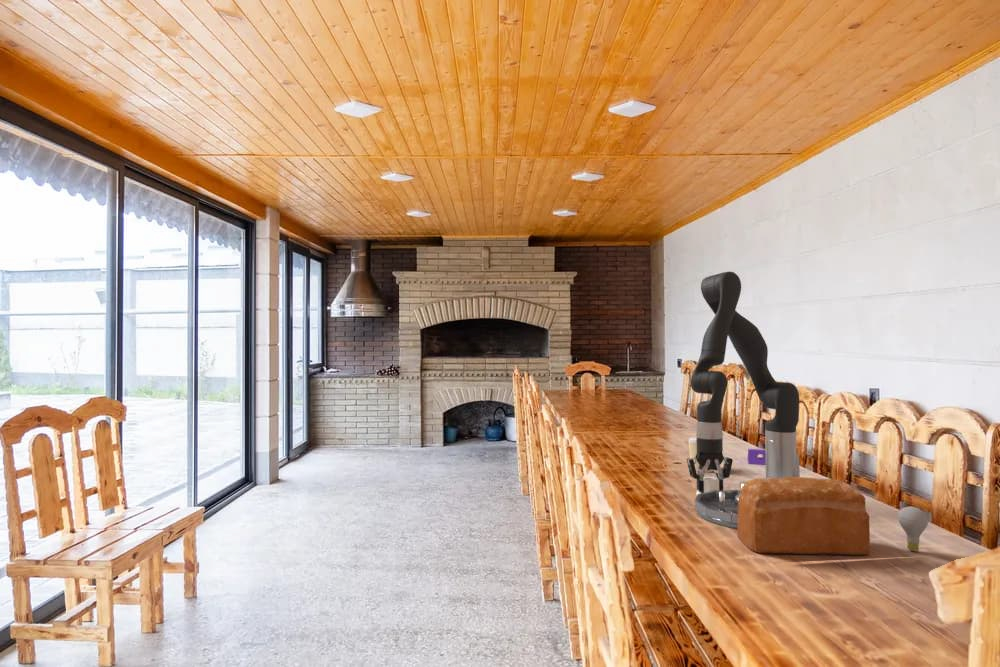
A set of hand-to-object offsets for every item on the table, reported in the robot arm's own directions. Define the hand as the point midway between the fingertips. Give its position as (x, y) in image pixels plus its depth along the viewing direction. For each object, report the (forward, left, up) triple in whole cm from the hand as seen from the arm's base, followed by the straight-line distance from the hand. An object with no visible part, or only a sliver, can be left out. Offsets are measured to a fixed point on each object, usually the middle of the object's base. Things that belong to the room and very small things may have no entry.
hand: (709, 491), depth 175 cm
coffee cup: (-12, -32, -2) cm, 34 cm away
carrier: (-2, +19, -2) cm, 19 cm away
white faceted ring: (0, 0, -2) cm, 2 cm away
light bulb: (-25, +48, -2) cm, 54 cm away
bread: (-2, +42, -2) cm, 42 cm away
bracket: (-38, -42, -2) cm, 57 cm away
